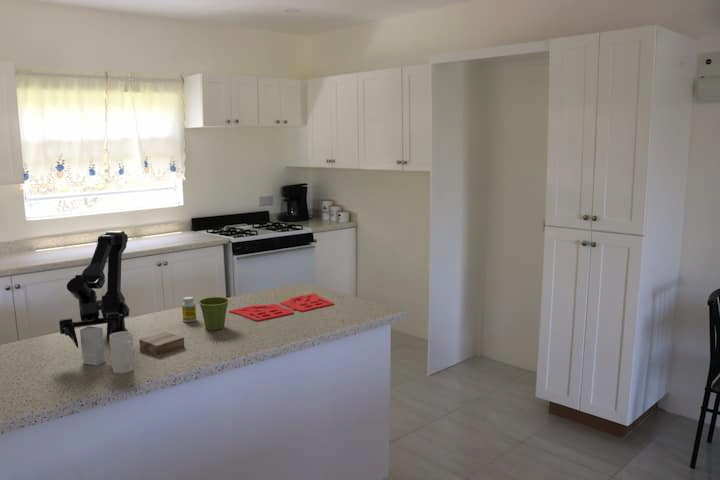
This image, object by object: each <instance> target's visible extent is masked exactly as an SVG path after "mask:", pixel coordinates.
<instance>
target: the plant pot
mask: <svg viewBox="0 0 720 480" xmlns="http://www.w3.org/2000/svg"><path fill="white" fill-rule="evenodd" d="M229 302H230V299H229V298H227V297H223V296H210V297H204V298H201V299H200V300H199V301H198V304H199V306H200V308H201V309H200V310H201V312H202V318H203V323H204V326H205V330H208V331H216V332H217V331H218V330H223V329H224V328H225V325H226V316H227V315H226V314H227V309H228V305H229Z"/></svg>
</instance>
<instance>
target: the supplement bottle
mask: <svg viewBox="0 0 720 480" xmlns="http://www.w3.org/2000/svg"><path fill="white" fill-rule="evenodd" d="M182 301H183V303H182V305H181V310H182V311H181V312H182V320H183V322H185V323H191V322H195V321H197V309H196V306H197V305H196V302H194V297H193V296H185V297H183V298H182Z"/></svg>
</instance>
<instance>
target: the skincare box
mask: <svg viewBox="0 0 720 480" xmlns="http://www.w3.org/2000/svg"><path fill="white" fill-rule="evenodd" d="M103 331H104V330H103V327H100V326H99V327H98V326H92V325H90V326H85V327H83V328H81V329H80V330H79V335H80V345H81V354H82V355H81V358H82V364H83V365H91V366H99V365H101V364H102V363H104V362H106V353H105V341H104V332H103Z"/></svg>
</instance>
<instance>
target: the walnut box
mask: <svg viewBox="0 0 720 480" xmlns="http://www.w3.org/2000/svg"><path fill="white" fill-rule="evenodd" d="M138 341H139V342H138V343H139V350H140V351H143V350H144V352H146V353H149V354H152V355H154V356H156V357H159V356H161V355H165V354H167V353H171V352H175V351H177V350H181V349H183V348H185V337H183V336H181V335H177V334H174V333H171V332H168V331H164V332H160V333H157V334H154V335H150V336H146V337H142V338H139V339H138Z"/></svg>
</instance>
